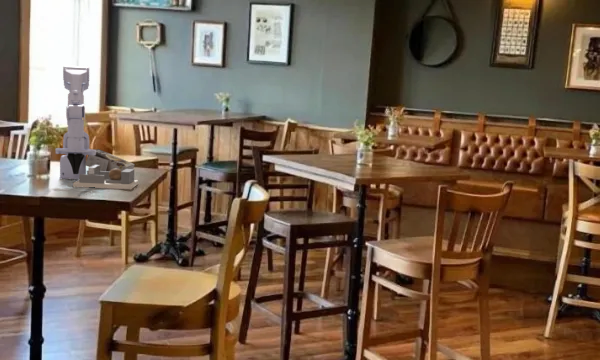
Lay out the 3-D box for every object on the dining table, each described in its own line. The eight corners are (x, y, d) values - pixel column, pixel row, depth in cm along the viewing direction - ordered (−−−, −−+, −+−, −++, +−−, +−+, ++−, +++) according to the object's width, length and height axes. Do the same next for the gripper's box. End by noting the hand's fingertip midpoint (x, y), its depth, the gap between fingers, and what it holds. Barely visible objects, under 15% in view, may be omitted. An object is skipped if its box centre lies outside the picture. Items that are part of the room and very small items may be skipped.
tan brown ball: (107, 182, 280) (107, 168, 279) (110, 180, 285) (110, 167, 284) (120, 182, 280) (120, 169, 279) (124, 180, 285) (124, 167, 284)
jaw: (88, 178, 279) (88, 167, 278) (94, 175, 286) (94, 164, 286) (93, 178, 278) (93, 167, 278) (99, 175, 286) (99, 165, 286)
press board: (73, 186, 277) (73, 170, 276) (83, 181, 289) (83, 166, 288) (130, 189, 277) (130, 173, 276) (138, 184, 289) (138, 168, 288)
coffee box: (127, 166, 292) (89, 150, 293) (121, 181, 293) (84, 165, 294) (135, 163, 301) (98, 148, 302) (129, 178, 302) (93, 163, 303)
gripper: (52, 137, 276) (52, 174, 279) (92, 139, 276) (92, 176, 278) (58, 135, 283) (59, 171, 285) (97, 137, 283) (97, 173, 285)
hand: (75, 173), depth 282 cm, fingers closed
